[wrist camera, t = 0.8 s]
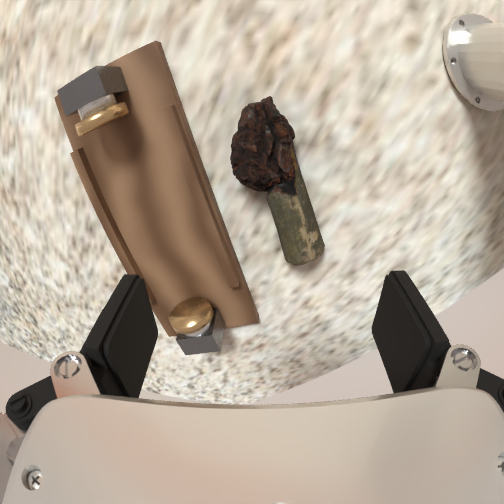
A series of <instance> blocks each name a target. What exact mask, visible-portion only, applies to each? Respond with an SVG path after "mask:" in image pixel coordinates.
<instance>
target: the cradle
mask: <svg viewBox="0 0 504 504" xmlns="http://www.w3.org/2000/svg"><path fill="white" fill-rule="evenodd" d="M106 66H116V67H121V69H122V72H123V75H124V78H125V81H126V84H127V87H128V90H129V91H127V92H125V93H123V94H121V95H119V96H117V97H115V98H116V101H117V104H119V103H122V102H125V103H126V105H127V108H128V111H129V114H127V115H126V116H124V117H122V118H120V119H118V120H116V121H114V122H112V123H110V124H108V125H106V126H103V127H101V128H99V129H97V130H95V131H93V132H90V133H88V134H86V135H83V136H80V137H79V136H78V133H77V130H76V128H75V125H76V124H77V123H78V122H80V121H81V118H80V116H79V113H77V114H73V115H70V116H66V115H65V112H64V109H63V106H62V103H61V100H60V97H59V95H57V96H56V97H55V101H56V104H57V107H58V110H59V113H60V116H61V119H62V122H63V125H64V127H65V130H66V133H67V135H68V138H69V141H70V143H71V146H72V148H73V151H74V152H72V153H70V154H71V157H72V159H73V162H74V164H75V167H76V169H77V171H78V174H79V176H80V178H81V181H82V183H83V185H84V188H85V190H86V192H87V194H88V196H89V199H90V201H91V203H92V205H93V207H94V209H95V212H96V214H97V216H98V218H99V220H100V222H101V224H102V226H103V228H104V230H105V232H106V234H107V236H108V238H109V240H110V242H111V244H112V246H113V248H114V250H115V251H116V253H117V255H118V257H119V259H120V261H121V263H122V265H123V266H124V268H125V270H126V272H127V274H138V275H139V276H140V278H143V279H144V281H145V284H146V288H147V292H148V296H149V300H150V304H151V307H152V310H153V312H154V313H155V315H156V316H157V318H158V320H159V321H160V323H161V325H162V326H163V328H164V329H165V331H166V333H167V334H168V336H169V337H170V336H177V335H178V333H177V332H176V331H175V330H174V329H173V327H172V325H171V324H170V322H169V315H170V313H171V311H172V310H173V309H174V307H175V306H177V305H178V304H179V303H181V302H182V301H184V300H187V299H189V298H193V297H203V298H206V299H207V300H208V301H209V303H210V305H211V307H212V308H217V307H218V309H219V311H220V313H221V315H222V317H223V320H224V322H225V327H224V329H225V328H231V327H237V326H243V325H249V324H254V323H258V321H259V315H258V312H257V310H256V307H255V304H254V302H253V299H252V296H251V294H250V291H249V288H248V286H247V283H246V281H245V278H244V275H243V273H242V270H241V267H240V265H239V262H238V259H237V256H236V254H235V251H234V248H233V246H232V243H231V240H230V238H229V235H228V232H227V229H226V227H225V224H224V221H223V219H222V216H221V213H220V210H219V208H218V205H217V202H216V199H215V197H214V194H213V191H212V188H211V186H210V183H209V180H208V177H207V175H206V172H205V169H204V166H203V163H202V161H201V158H200V155H199V152H198V149H197V147H196V144H195V141H194V138H193V135H192V133H191V130H190V127H189V124H188V121H187V118H186V116H185V113H184V110H183V107H182V104H181V101H180V98H179V95H178V93H177V90H176V87H175V84H174V81H173V78H172V75H171V72H170V69H169V66H168V63H167V61H166V58H165V55H164V52H163V49H162V46H161V43H160V42H158V41H154V42H152V43H150V44H147V45H145V46H143V47H141V48H139V49H137V50H135V51H133V52H131V53H129V54H127V55H125V56H123V57H121V58H119V59H117V60H115V61H113V62H111V63H110V64H108V65H106Z"/></svg>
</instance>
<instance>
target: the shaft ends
mask: <svg viewBox="0 0 504 504" xmlns="http://www.w3.org/2000/svg"><path fill="white" fill-rule="evenodd" d="M127 91H129V90H128V87H127V84H126V81H125V78H124V75H123V72H122V69H121V67H116V66H95V67H94V68H92V69H90V70H89V71H87V72H85V73H84V74H82V75H81V76H79V77H77V78H76V79H74V80H73V81H71V82H70V83H68V84H67V85H65V86H64V87H62V88H61V89H59V90H58V94H59V97H60V100H61V103H62V106H63V109H64V112H65V115H66V116H70V115H73V114H77V113H79V116H80V118H81V121H80V122H78V123H77V124H76V125H75V128H76V130H77V133H78V136H79V137H80V136H83V135H86V134H88V133H90V132H93V131H95V130H97V129H99V128H101V127H103V126H106V125H108V124H110V123H112V122H114V121H116V120H118V119H120V118H122V117H124V116H126V115H127V114H129V111H128V108H127V105H126V103H125V102H122V103H119V104H117V101H116V98H115V97H117V96H119V95H121V94H123V93H125V92H127ZM169 322H170V324H171V325H172V327H173V329H174V330H175V331H176V332H177V333H178V335H177V338H176V341H177V343H178V344H179V346H180V347H181V349H182V350H183V352H184V353H185V355H192V354H200V353H208V352H216V351H221V346H222V340H223V333H224V327H225V322H224V320H223V317H222V315H221V313H220V311H219V309H218V307H217V308H212V307H211V305H210V303H209V301H208V300H207V299H206V298H203V297H193V298H189V299H187V300H184V301H182V302H181V303H179V304H178V305H177V306H175V307H174V309H173V310H172V311H171V313H170V315H169Z"/></svg>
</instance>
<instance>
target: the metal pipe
mask: <svg viewBox="0 0 504 504" xmlns="http://www.w3.org/2000/svg"><path fill="white" fill-rule="evenodd" d="M294 138H295V133H294V130H293V128H292V126H290V125H289V123H288V120H287V119H286V118H285V116H283V115H281V114H280V113H279V111H278V110H277V109H276V106H275V105H274V104H273V100H272V97H271V96H269V97H267V98H265V99H262V100H261V102H257V103H251V104H248V106H245V108H244V109H243V110H242V112H241V117H240V120H239V122H238V131H237V132H236V133H235V134H234V135H233V138H232V144H231V149H232V153H231V157H230V160H231V164H232V169H233V174H234V176H236V178H237V179H238V180H239V181H240V183H241V184H243V185H245V186H246V187H249V188H251V189H253V190H256V191H260V192H261V191H268V193H267V200H268V203H269V207H270V210H271V212H272V215H273V219H274V222H275V225H276V228H277V231H278V234H279V238H280V242H281V246H282V249H283V253H284V256H285V260H286V261H287V262H288V263H291V264H293V265H302V264H306V263H308V262H310V261H312V260H314V259H316V258H318V257H319V256H321V254H322V253H323V251H324V247H325V244H324V242H323V239H322V236H321V233H320V230H319V227H318V224H317V221H316V218H315V214H314V211H313V208H312V205H311V202H310V199H309V196H308V193H307V190H306V186H305V183H304V180H303V177H302V175H301V171H300V168H299V165H298V162H297V159H296V155H295V152H294V147H293V141H292V140H293V139H294Z"/></svg>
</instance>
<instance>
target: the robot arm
mask: <svg viewBox="0 0 504 504" xmlns="http://www.w3.org/2000/svg"><path fill="white" fill-rule="evenodd" d="M443 55H444V61H445V65H446V68H447V71H448V74H449V76H450V78H451V80H452V82H453V84H454V85H455V87H456V89H457V90H458V92H459V93H460V94H461V95H462V96H463V97H464V98H465V99H466V100H467V101H468V102H469V103H470V104H472V105H474V106H475V107H477V108H480V109H483V110H487V111H499V110H502V109H504V22H495V23H493V22H492V21H491V20H489V19H488V18H486V17H484V16H482V15H478V14H474V13H467V14H462V15H459V16H457V17H455V18H454V19H453V20H452V21H451V22H450V23H449V24H448V26H447V28H446V30H445V33H444V38H443ZM372 334H373V337H374V340H375V342H376V345H377V348H378V350H379V353H380V355H381V358H382V361H383V364H384V367H385V369H386V372H387V375H388V378H389V380H390V383H391V386H392V389H393V392H394V393H393V394H386V395H380V396H372V397H366V398H356V399H348V400H338V401H328V402H314V403H298V404H271V405H228V404H200V403H185V402H172V401H161V400H149V399H140V398H139V394H140V391H141V388H142V385H143V381H144V378H145V375H146V372H147V369H148V365H149V362H150V359H151V356H152V353H153V350H154V347H155V344H156V341H157V337H158V329H157V325H156V322H155V318H154V315H153V311H152V307H151V304H150V300H149V296H148V292H147V288H146V284H145V281H144V279H143V278H140V276H139V275H138V274H125V275H124V276H123V277H122V279H121V280H120V282H119V284H118V285H117V287H116V289H115V290H114V292H113V294H112V295H111V297H110V299H109V301H108V302H107V304H106V306H105V307H104V309H103V310H102V312H101V314H100V315H99V317H98V319H97V321H96V323H95V324H94V326H93V328H92V330H91V332H90V333H89V335H88V337H87V339H86V341H85V343H84V345H83V347H82V349H81V350H80V352H75V351H69V352H65V353H63V354H61V355H59V356H58V357H57V358H56V359H55V360H54V361H53V363H52V364H51V368H50V374H51V376H49V377H47V378H45V379H43V380H41V381H39V382H37V383H35V384H33V385H31V386H29V387H27V388H25V389H23V390H21V391H19V392H17V393H15V394H14V395H12V396H11V397H10V399H9V400H8V402H7V405H6V413H5V414H4V415H3V414H2V413H0V504H504V379H502V378H500V377H498V376H496V375H494V374H491V373H489V372H487V371H485V370H483V369H481V368H480V366H481V361H480V358H479V356H478V354H477V353H476V352H475V351H474V350H473V349H472V348H470V347H468V346H465V345H455V346H452V347H451V345H450V343H449V339H448V338H447V336H446V334H445V333H444V331H443V329H442V327H441V326H440V324H439V322H438V321H437V319H436V317H435V316H434V314H433V313H432V311H431V309H430V308H429V306H428V305H427V303H426V301H425V300H424V298H423V297H422V295H421V294H420V292H419V291H418V289H417V288H416V286H415V285H414V283H413V282H412V280H411V279H410V277H409V276H408V274H407V273H406V272H405V271H391V272H390V273H389V275H386V277H385V280H384V284H383V288H382V292H381V296H380V300H379V303H378V307H377V311H376V314H375V318H374V321H373V325H372Z"/></svg>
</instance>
